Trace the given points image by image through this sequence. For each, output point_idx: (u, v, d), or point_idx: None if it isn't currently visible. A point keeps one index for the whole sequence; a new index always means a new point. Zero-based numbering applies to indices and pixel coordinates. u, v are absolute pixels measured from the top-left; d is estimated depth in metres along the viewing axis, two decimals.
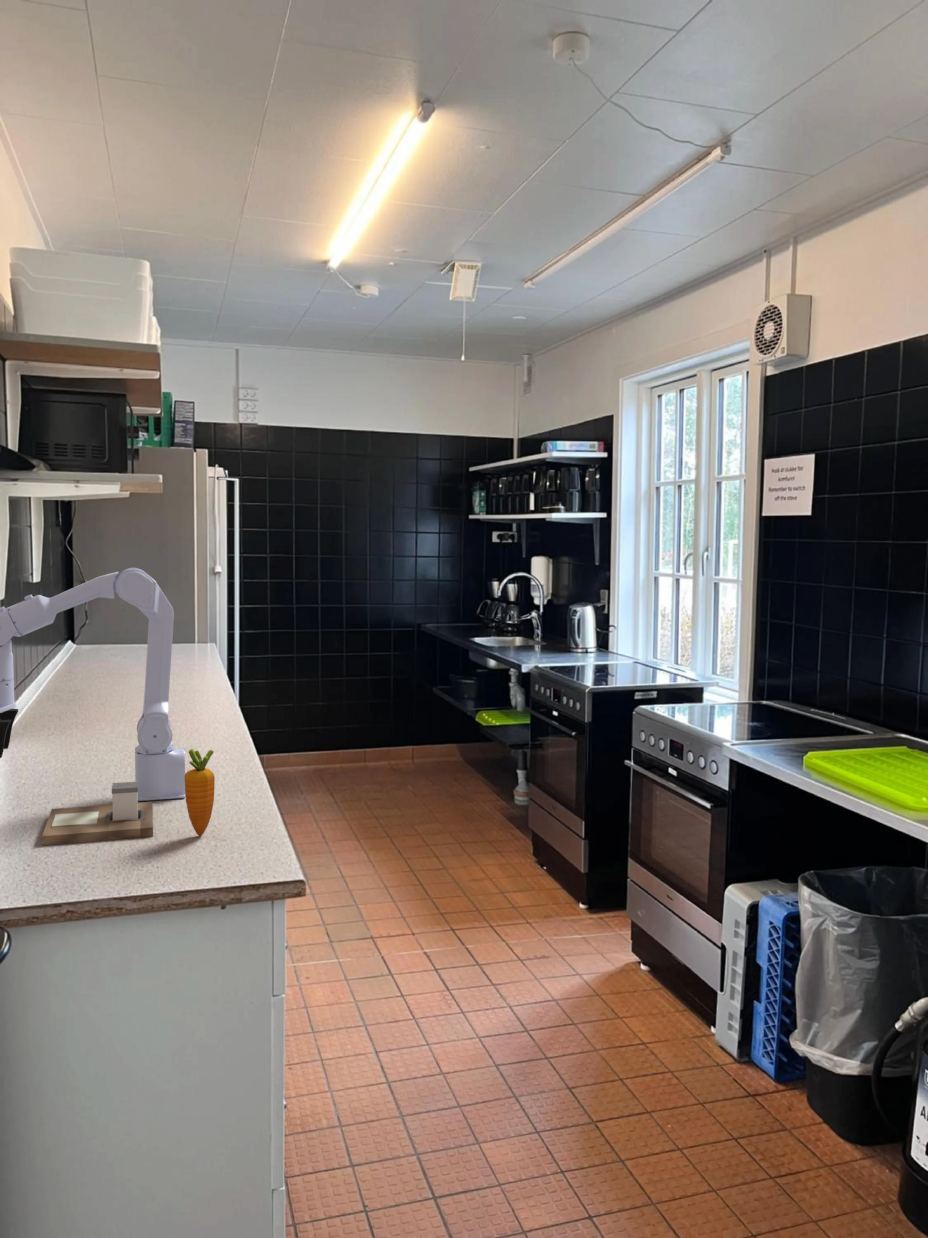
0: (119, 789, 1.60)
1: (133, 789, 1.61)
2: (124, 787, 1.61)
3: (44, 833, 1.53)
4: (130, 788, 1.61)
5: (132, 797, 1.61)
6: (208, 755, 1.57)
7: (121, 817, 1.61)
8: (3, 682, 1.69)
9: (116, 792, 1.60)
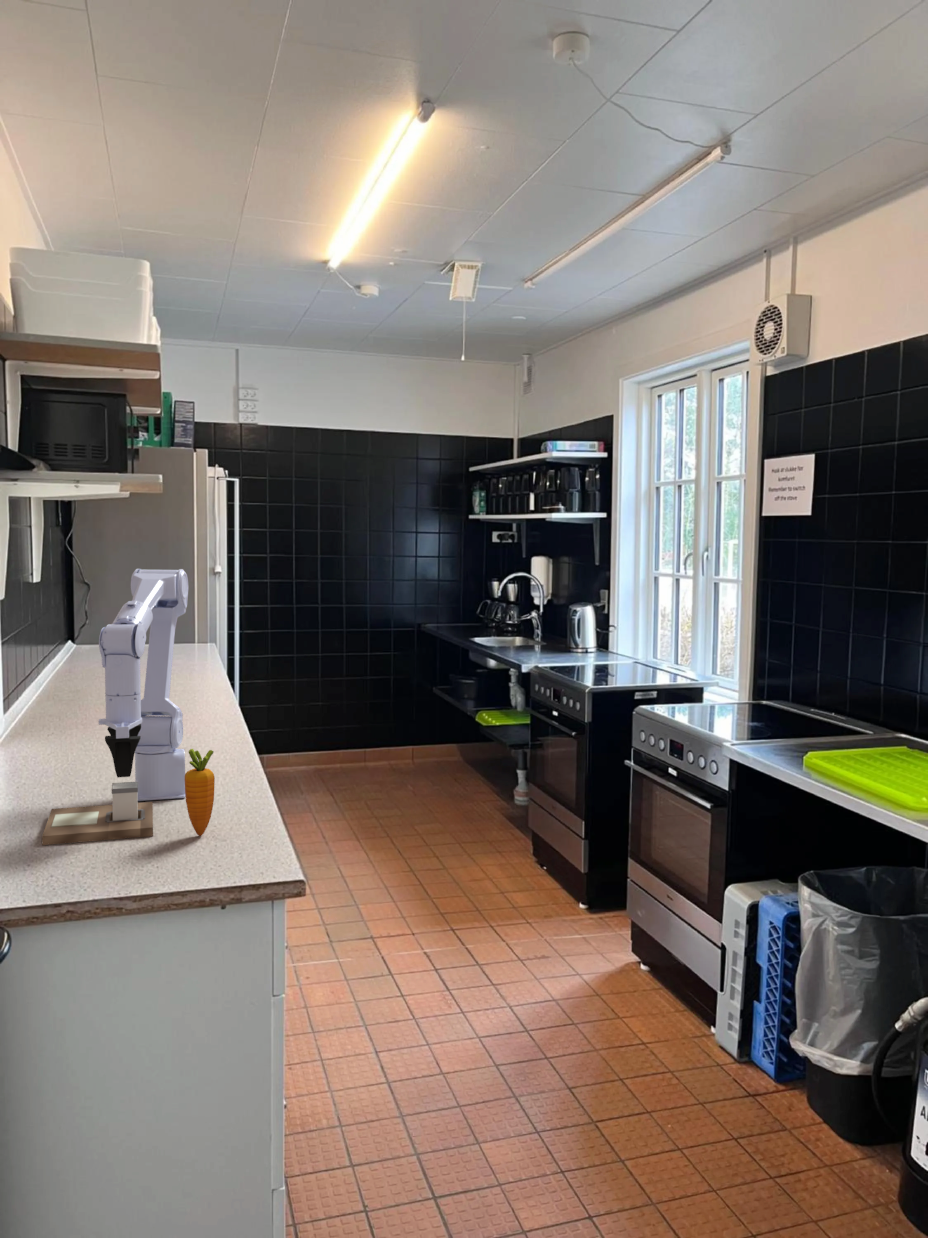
0: (119, 789, 1.60)
1: (133, 789, 1.61)
2: (124, 787, 1.61)
3: (44, 833, 1.53)
4: (130, 788, 1.61)
5: (132, 797, 1.61)
6: (208, 755, 1.57)
7: (121, 817, 1.61)
8: (132, 696, 1.59)
9: (116, 792, 1.60)
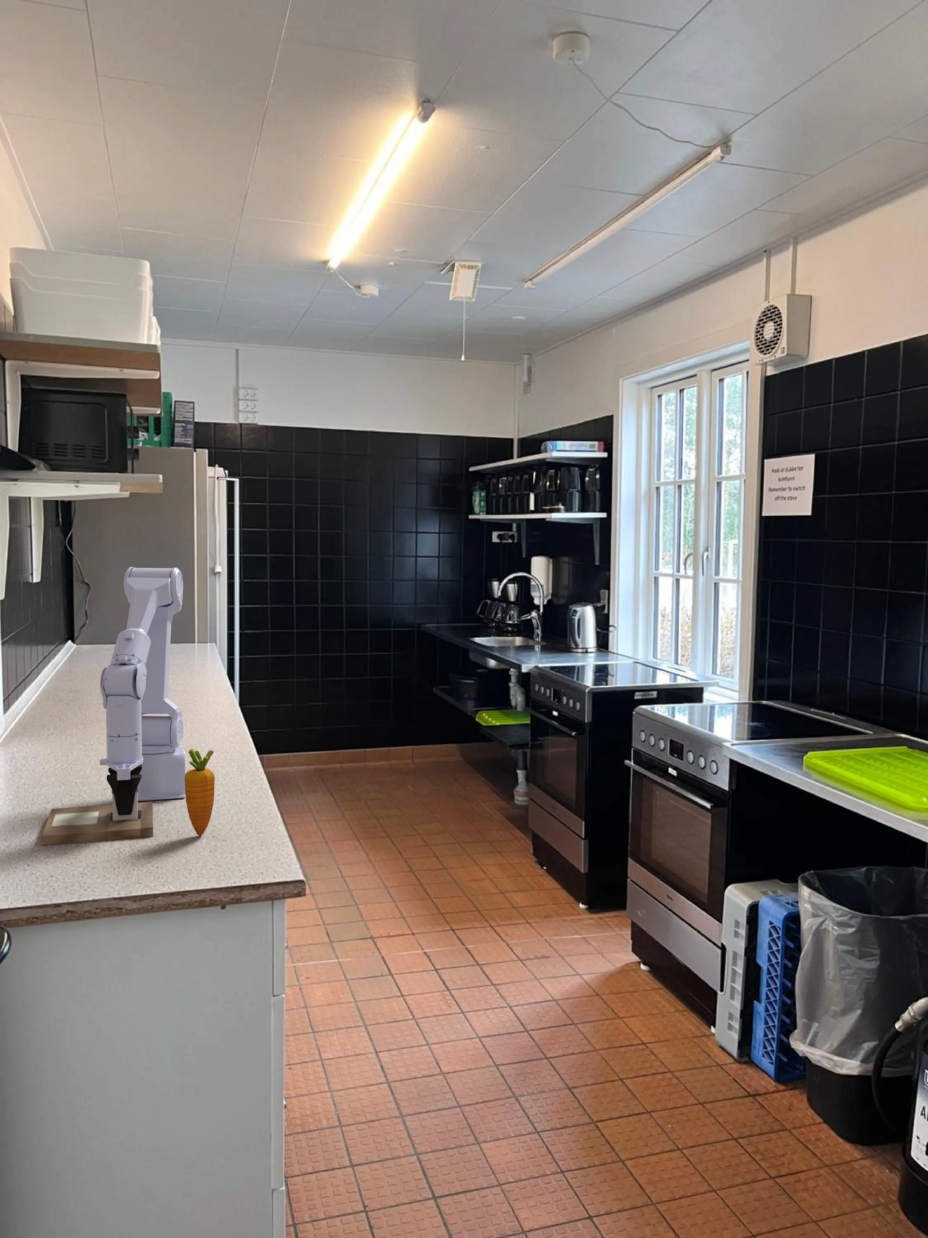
0: None
1: None
2: None
3: (44, 833, 1.53)
4: None
5: None
6: (208, 755, 1.57)
7: (121, 817, 1.61)
8: (133, 737, 1.60)
9: None
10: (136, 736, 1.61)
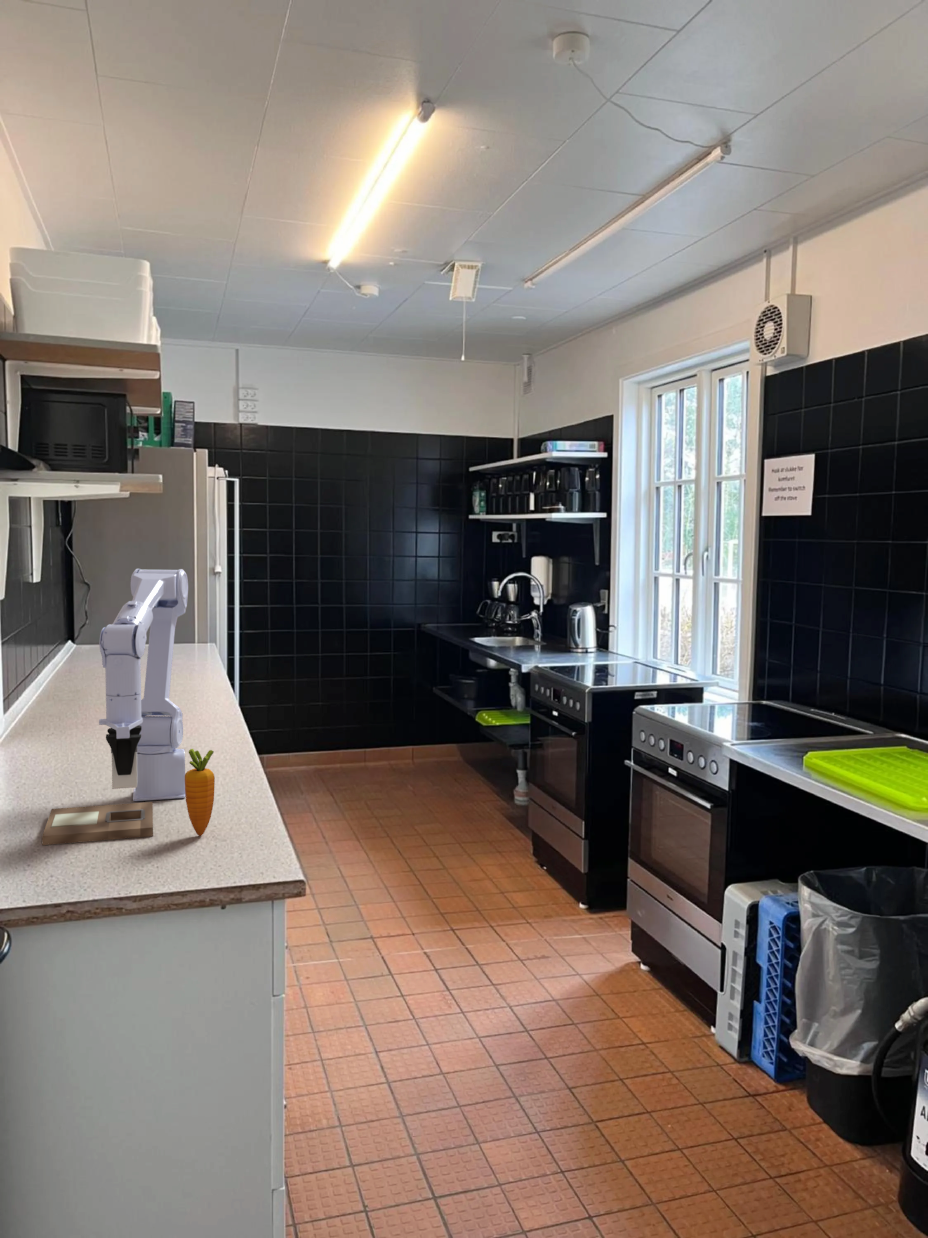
0: None
1: None
2: None
3: (44, 833, 1.53)
4: None
5: None
6: (208, 755, 1.57)
7: (121, 777, 1.60)
8: (132, 696, 1.59)
9: None
10: (135, 696, 1.60)
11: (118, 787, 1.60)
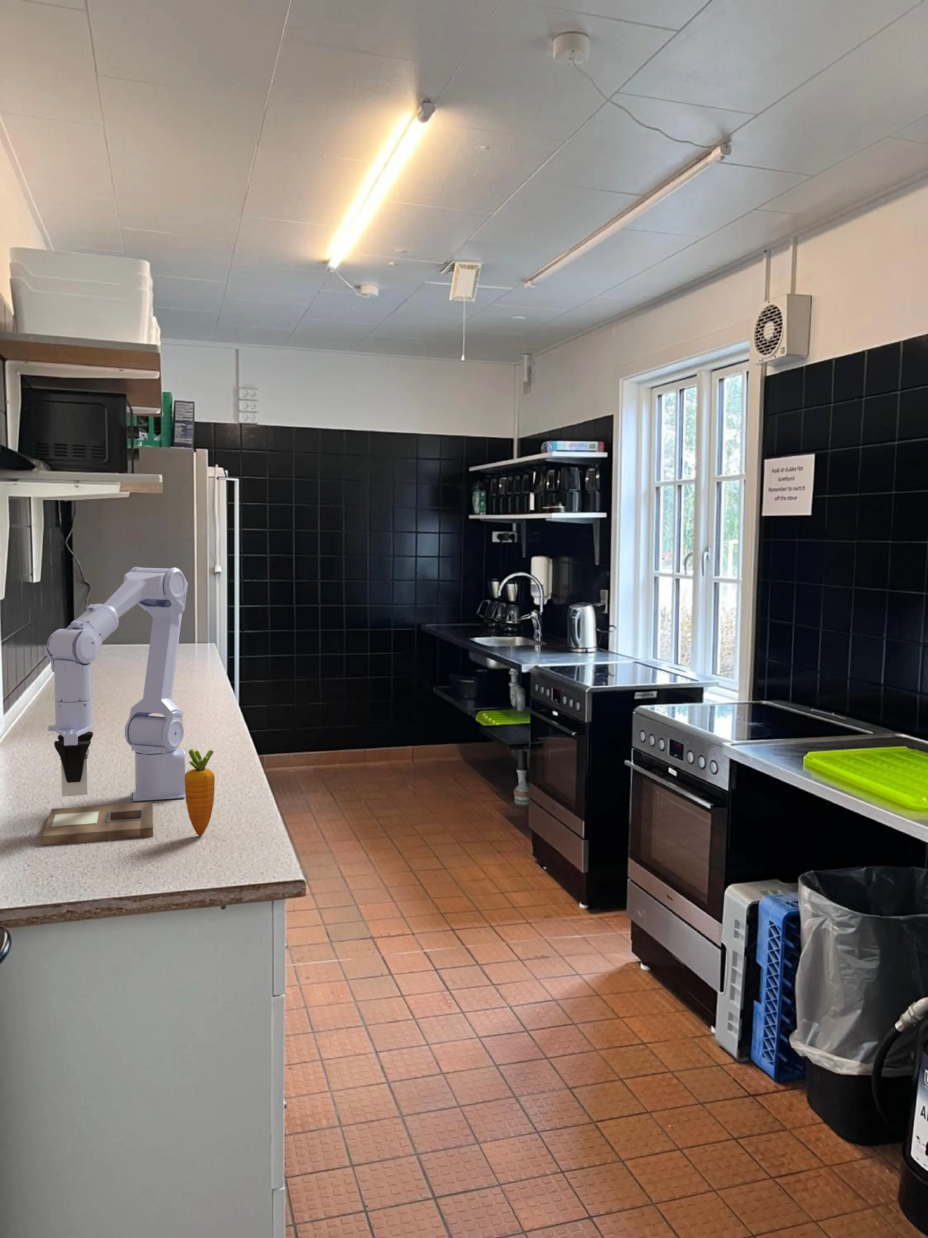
0: None
1: None
2: None
3: (44, 833, 1.53)
4: None
5: None
6: (208, 755, 1.57)
7: (70, 784, 1.58)
8: (81, 702, 1.57)
9: None
10: (85, 702, 1.58)
11: (68, 794, 1.58)
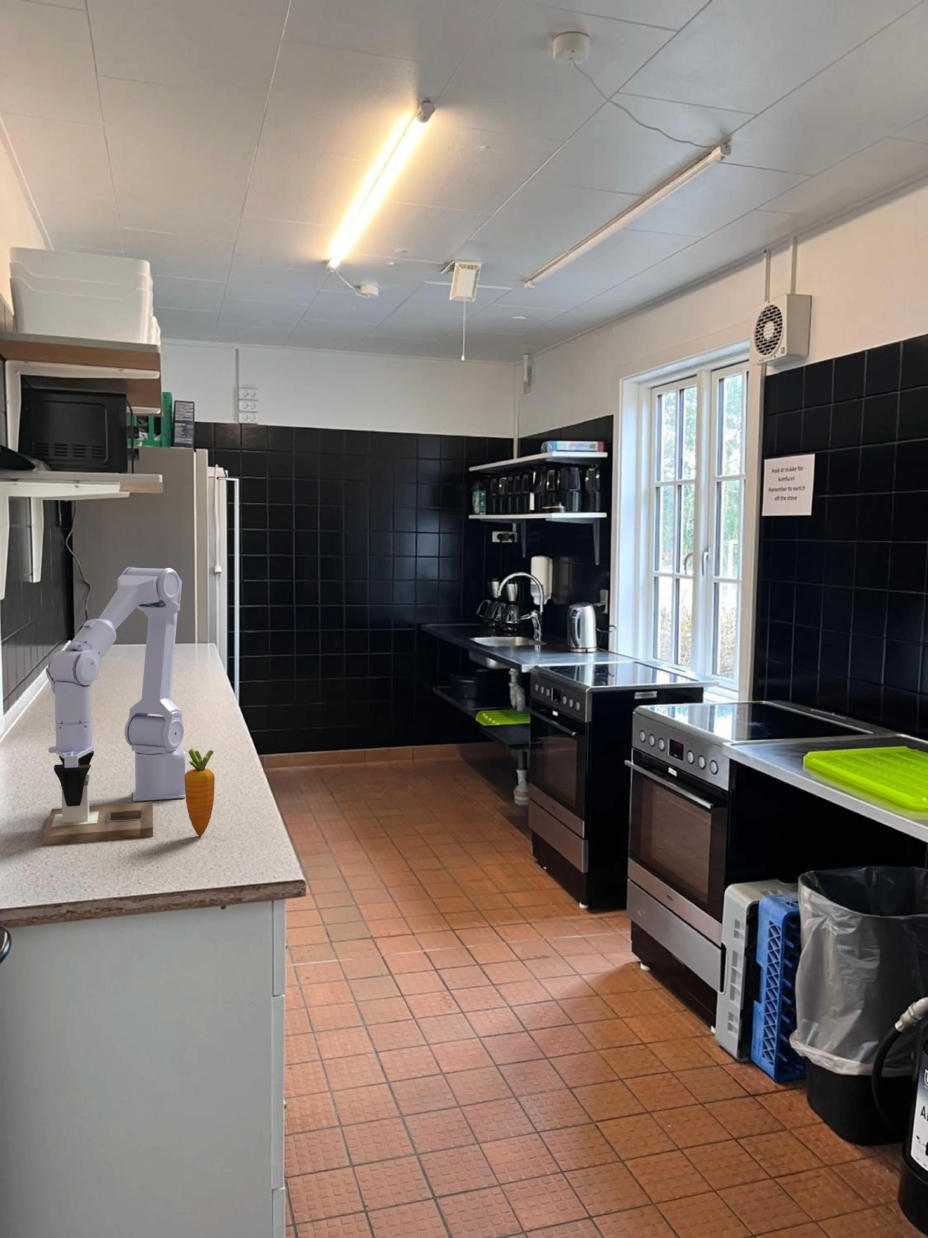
0: None
1: None
2: None
3: (44, 833, 1.53)
4: None
5: None
6: (208, 755, 1.57)
7: (71, 811, 1.58)
8: (82, 724, 1.57)
9: None
10: (85, 723, 1.58)
11: (68, 821, 1.58)
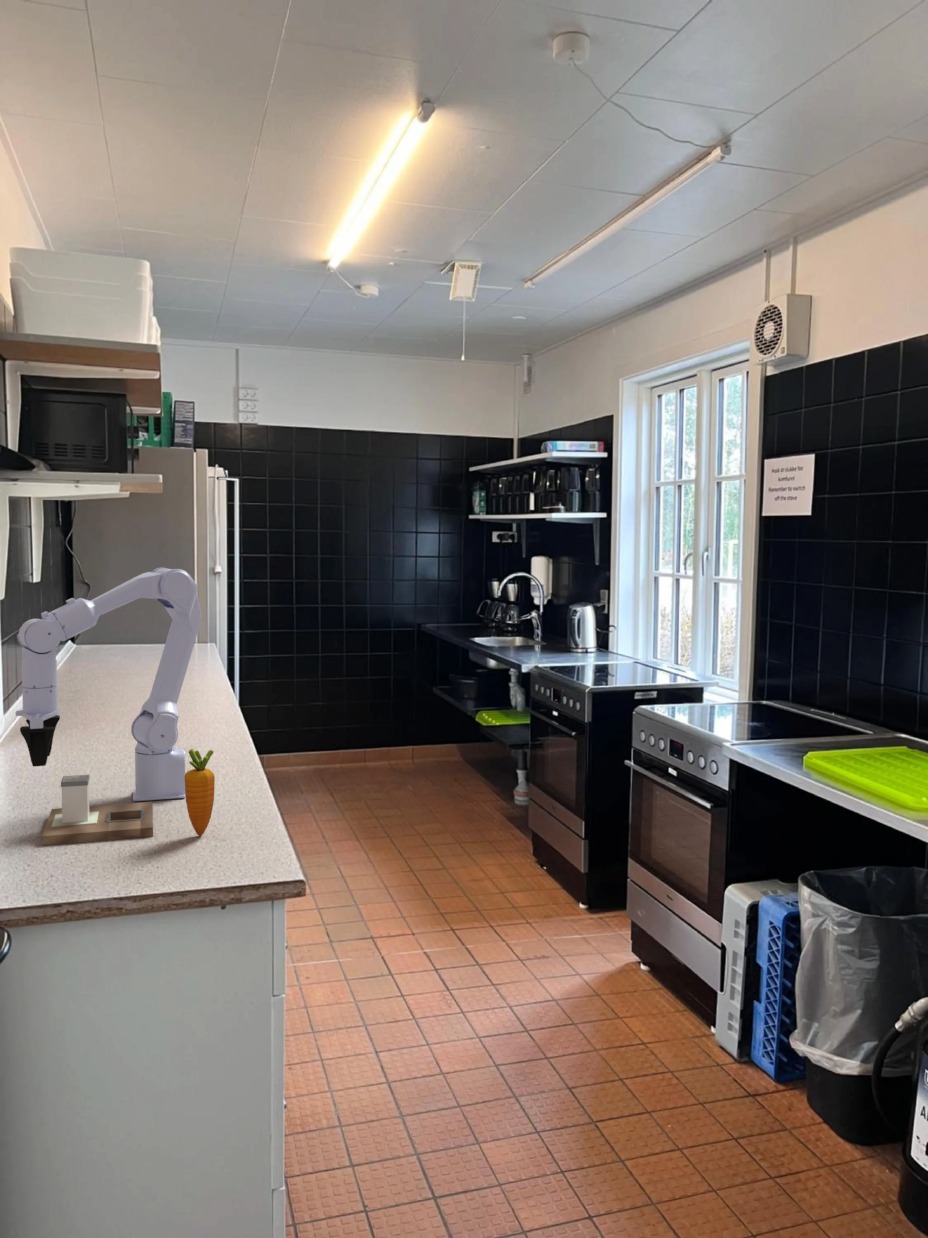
0: (68, 782, 1.58)
1: (83, 782, 1.58)
2: (74, 780, 1.58)
3: (44, 833, 1.53)
4: (80, 781, 1.58)
5: (82, 790, 1.59)
6: (208, 755, 1.57)
7: (71, 811, 1.58)
8: (47, 688, 1.66)
9: (65, 785, 1.58)
10: (51, 688, 1.67)
11: (68, 821, 1.58)
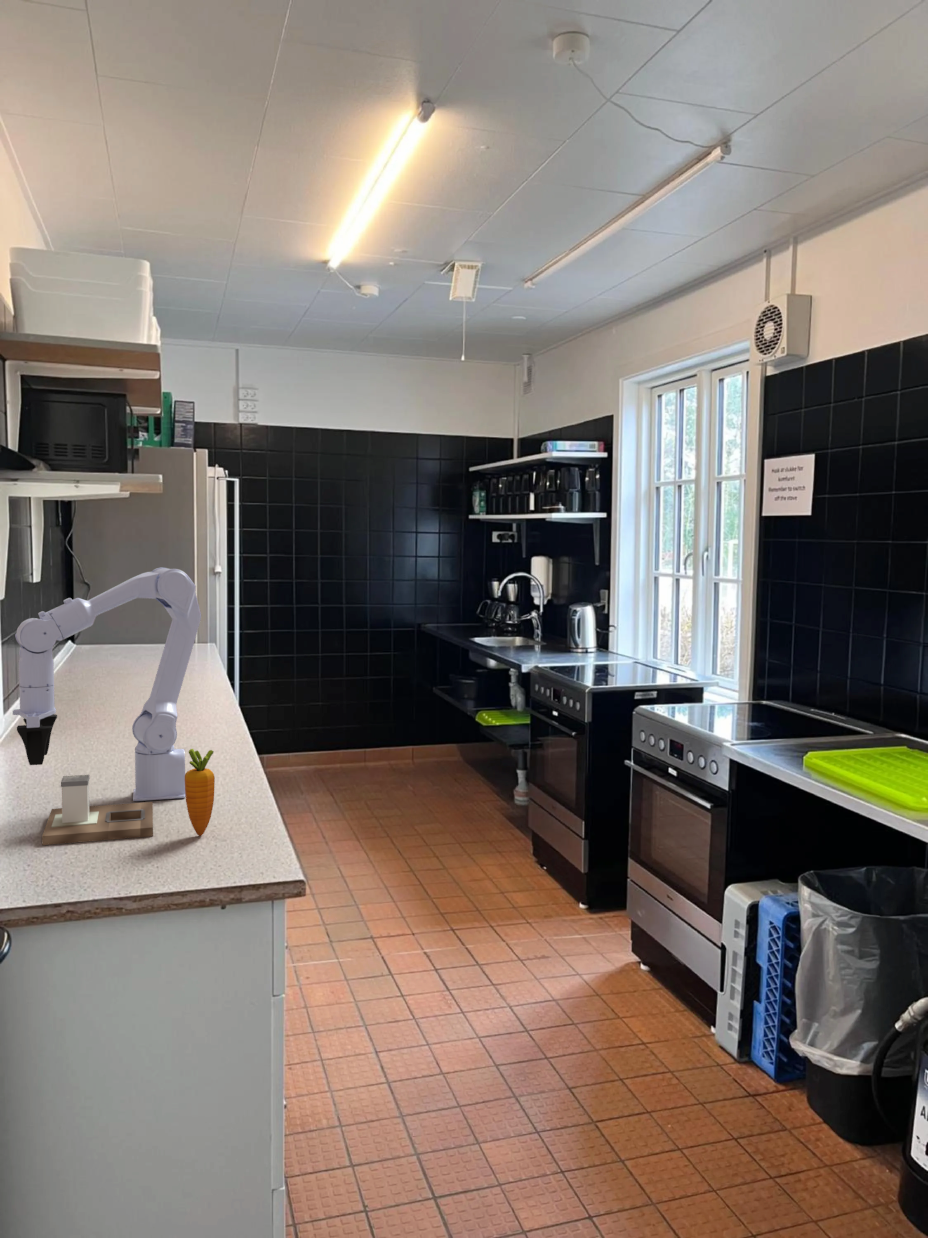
0: (68, 782, 1.58)
1: (83, 782, 1.58)
2: (74, 780, 1.58)
3: (44, 833, 1.53)
4: (80, 781, 1.58)
5: (82, 790, 1.59)
6: (208, 755, 1.57)
7: (71, 811, 1.58)
8: (44, 688, 1.67)
9: (65, 785, 1.58)
10: (47, 687, 1.68)
11: (68, 821, 1.58)
